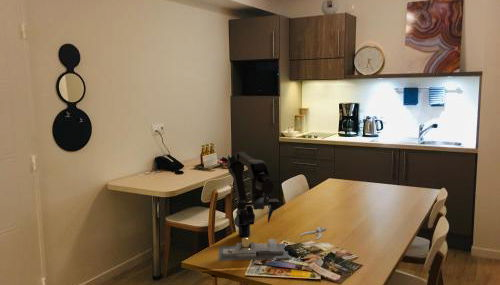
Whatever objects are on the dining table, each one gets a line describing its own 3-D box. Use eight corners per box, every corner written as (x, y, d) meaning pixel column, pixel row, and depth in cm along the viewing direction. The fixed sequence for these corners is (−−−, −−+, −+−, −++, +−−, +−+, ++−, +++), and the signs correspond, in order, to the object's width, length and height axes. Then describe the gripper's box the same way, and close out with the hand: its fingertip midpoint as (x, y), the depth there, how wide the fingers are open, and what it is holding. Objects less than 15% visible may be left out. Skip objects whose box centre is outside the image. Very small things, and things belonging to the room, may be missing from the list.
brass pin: (242, 252, 179) (241, 237, 178) (249, 252, 179) (248, 236, 178) (243, 255, 176) (242, 240, 175) (250, 254, 176) (249, 239, 175)
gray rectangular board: (219, 247, 187) (219, 246, 187) (284, 245, 188) (284, 243, 188) (218, 262, 171) (218, 260, 171) (289, 259, 173) (289, 257, 172)
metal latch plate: (236, 246, 181) (236, 239, 181) (275, 244, 182) (274, 238, 181) (237, 253, 173) (236, 246, 173) (277, 252, 174) (276, 244, 174)
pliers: (299, 233, 200) (314, 225, 211) (299, 236, 200) (314, 227, 212) (317, 237, 194) (331, 228, 205) (317, 240, 194) (331, 231, 205)
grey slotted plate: (223, 251, 181) (223, 246, 181) (281, 248, 182) (281, 244, 182) (223, 258, 173) (223, 253, 173) (284, 255, 174) (284, 251, 174)
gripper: (236, 194, 174) (237, 229, 176) (280, 192, 175) (281, 227, 177) (236, 187, 185) (237, 221, 187) (277, 186, 186) (278, 219, 188)
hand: (258, 222), depth 184 cm, fingers open, 9 cm apart
